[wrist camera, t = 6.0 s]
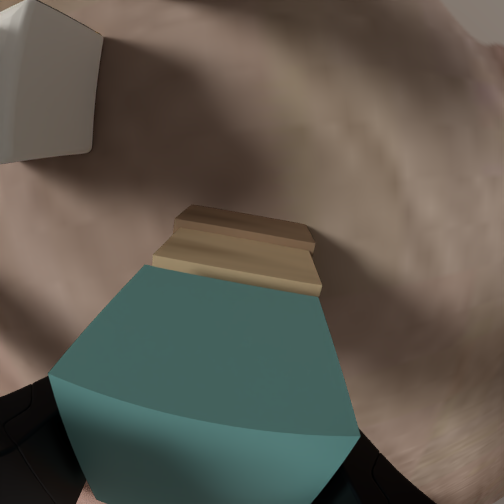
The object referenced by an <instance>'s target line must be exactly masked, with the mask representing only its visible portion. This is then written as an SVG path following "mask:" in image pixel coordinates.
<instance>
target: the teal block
mask: <svg viewBox="0 0 504 504" xmlns="http://www.w3.org/2000/svg"><path fill="white" fill-rule="evenodd" d="M48 376H49V379H50V383H51V386H52V390H53V393H54V397H55V400H56V403H57V406H58V409H59V412H60V415H61V418H62V421H63V424H64V427H65V429H66V432H67V435H68V438H69V440H70V443H71V445H72V448H73V450H74V453H75V455H76V457H77V460H78V462H79V464H80V467H81V469H82V471H83V473H84V475H85V478H86V480H87V482H88V484H89V486H90V488H91V490H92V492H93V494H94V496H95V498H96V500H99V501H101V502H104V503H107V504H311V503H312V502H313V500H314V499H315V498H316V497H317V496H318V494H319V493H320V492H321V491H322V489H323V488H324V487H325V485H326V484H327V483H328V482H329V480H330V479H331V478H332V476H333V475H334V474H335V472H336V471H337V470H338V468H339V467H340V466H341V464H342V463H343V461H344V460H345V459H346V457H347V456H348V454H349V453H350V451H351V450H352V448H353V447H354V446H355V444H356V443H357V441H358V440H359V438H360V432H359V429H358V425H357V421H356V418H355V414H354V411H353V407H352V404H351V400H350V397H349V393H348V390H347V387H346V383H345V380H344V377H343V373H342V370H341V367H340V363H339V360H338V357H337V354H336V351H335V347H334V344H333V341H332V338H331V335H330V332H329V329H328V325H327V322H326V319H325V316H324V313H323V310H322V307H321V304H320V301H319V298H318V297H315V296H309V295H303V294H297V293H291V292H286V291H280V290H274V289H268V288H263V287H257V286H252V285H246V284H241V283H235V282H230V281H225V280H220V279H214V278H209V277H204V276H199V275H194V274H189V273H184V272H179V271H174V270H169V269H164V268H159V267H154V266H149V265H144V266H143V267H142V268H141V269H140V270H139V271H138V272H137V274H136V275H135V276H134V277H133V278H132V279H131V280H130V281H129V282H128V283H127V284H126V285H125V286H124V287H123V288H122V289H121V290H120V292H119V293H118V294H117V295H116V296H115V297H114V298H113V299H112V300H111V301H110V302H109V303H108V305H107V306H106V307H105V308H104V309H103V310H102V311H101V312H100V313H99V315H98V316H97V317H96V318H95V319H94V320H93V321H92V322H91V323H90V325H89V326H88V327H87V328H86V329H85V330H84V331H83V333H82V334H81V335H80V336H79V337H78V338H77V339H76V341H75V342H74V343H73V344H72V345H71V346H70V348H69V349H68V350H67V351H66V352H65V354H64V355H63V356H62V357H61V358H60V359H59V361H58V362H57V363H56V364H55V366H54V367H53V368H52V369H51V370H50V372H49V373H48Z"/></svg>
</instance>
